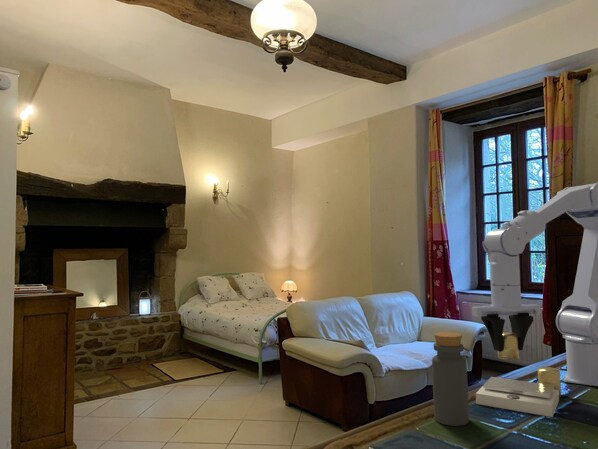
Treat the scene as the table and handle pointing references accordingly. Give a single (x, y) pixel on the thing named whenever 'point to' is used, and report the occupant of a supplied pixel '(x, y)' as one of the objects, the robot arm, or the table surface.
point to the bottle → (450, 380)
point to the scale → (518, 401)
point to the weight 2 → (550, 377)
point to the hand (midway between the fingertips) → (508, 349)
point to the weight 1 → (509, 347)
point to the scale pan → (519, 387)
